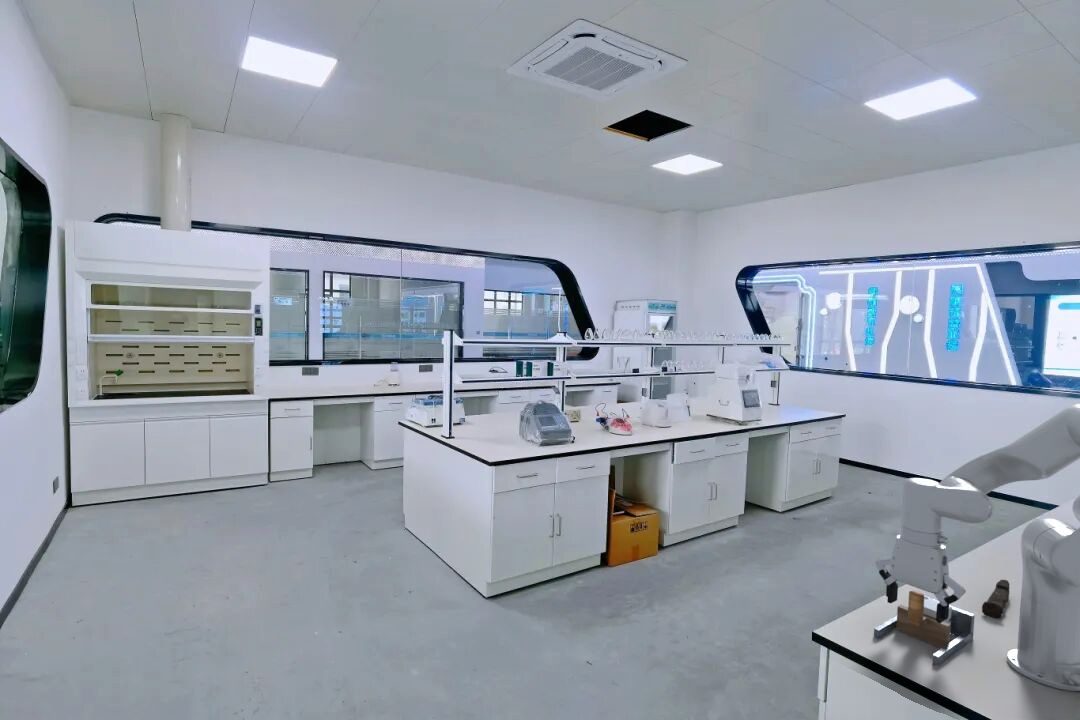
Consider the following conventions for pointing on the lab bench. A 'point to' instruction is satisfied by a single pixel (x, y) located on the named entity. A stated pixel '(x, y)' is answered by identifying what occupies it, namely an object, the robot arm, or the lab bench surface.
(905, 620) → the sliding jaw
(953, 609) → the clamp frame
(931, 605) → the skincare box
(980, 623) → the lab bench surface
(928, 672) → the lab bench surface
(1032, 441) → the robot arm
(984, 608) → the hand tool
